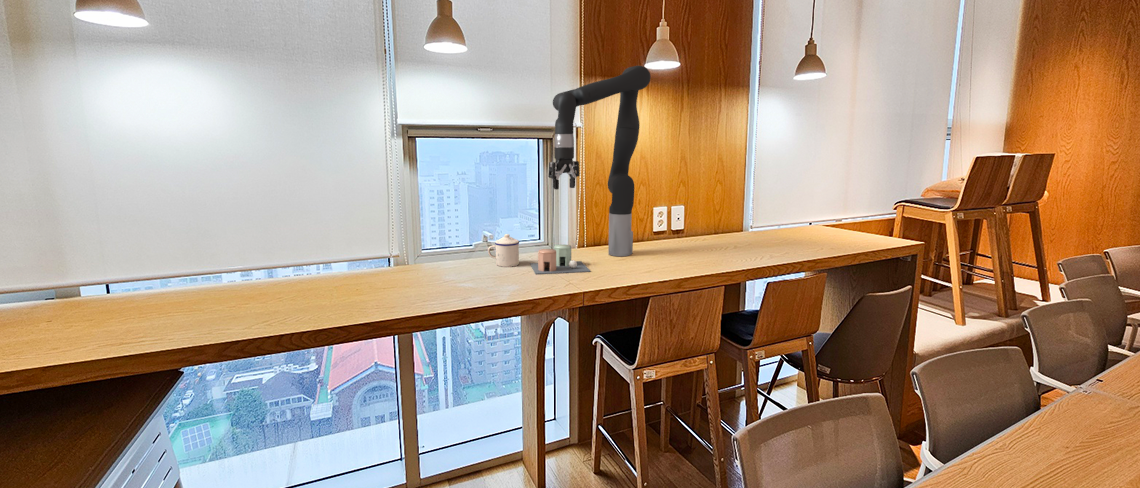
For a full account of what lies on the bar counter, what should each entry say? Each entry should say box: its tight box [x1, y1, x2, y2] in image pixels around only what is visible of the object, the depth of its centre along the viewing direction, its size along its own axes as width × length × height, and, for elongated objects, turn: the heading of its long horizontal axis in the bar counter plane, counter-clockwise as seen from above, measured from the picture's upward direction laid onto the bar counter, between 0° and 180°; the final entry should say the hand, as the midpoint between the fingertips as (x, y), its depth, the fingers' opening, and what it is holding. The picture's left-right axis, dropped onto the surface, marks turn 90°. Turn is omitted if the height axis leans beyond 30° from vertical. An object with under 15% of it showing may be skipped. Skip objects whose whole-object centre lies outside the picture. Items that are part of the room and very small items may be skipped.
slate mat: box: [529, 260, 592, 275], centre depth 204 cm, size 20×16×1 cm
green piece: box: [553, 244, 572, 266], centre depth 207 cm, size 6×6×7 cm
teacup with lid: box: [487, 233, 520, 268], centre depth 208 cm, size 12×9×12 cm
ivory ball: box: [569, 259, 577, 268], centre depth 201 cm, size 3×3×3 cm
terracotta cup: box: [537, 248, 556, 272], centre depth 199 cm, size 6×6×7 cm
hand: (564, 188), depth 213 cm, fingers open, 8 cm apart
